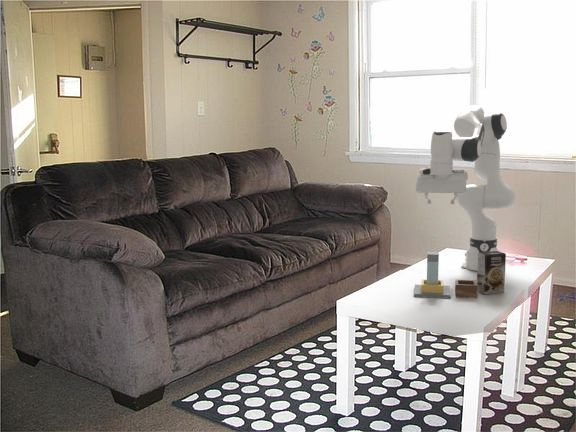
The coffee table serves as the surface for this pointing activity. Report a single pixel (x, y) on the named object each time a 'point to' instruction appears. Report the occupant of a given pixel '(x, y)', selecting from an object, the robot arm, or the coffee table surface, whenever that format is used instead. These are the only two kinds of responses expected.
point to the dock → (432, 290)
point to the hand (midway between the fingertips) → (440, 203)
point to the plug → (432, 268)
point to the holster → (466, 288)
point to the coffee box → (491, 272)
